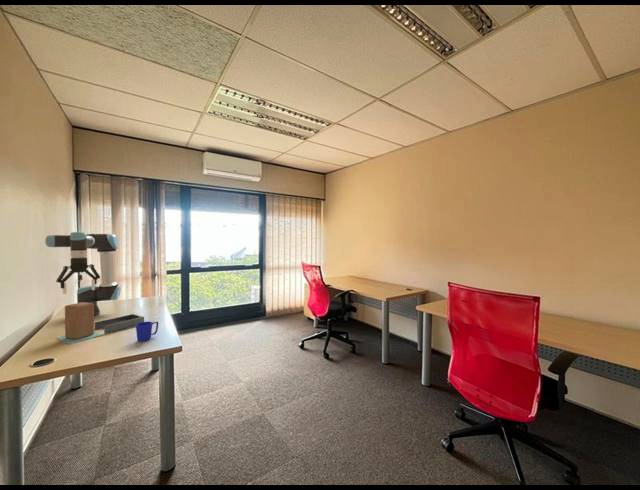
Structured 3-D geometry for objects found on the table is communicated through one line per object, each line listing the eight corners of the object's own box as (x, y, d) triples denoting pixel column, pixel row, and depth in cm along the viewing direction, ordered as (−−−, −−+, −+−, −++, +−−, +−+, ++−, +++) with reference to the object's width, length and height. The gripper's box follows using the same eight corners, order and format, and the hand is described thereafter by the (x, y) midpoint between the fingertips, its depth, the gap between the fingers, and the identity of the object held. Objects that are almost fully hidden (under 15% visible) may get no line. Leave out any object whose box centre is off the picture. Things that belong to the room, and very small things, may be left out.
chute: (94, 329, 173) (94, 322, 173) (133, 320, 193) (133, 313, 193) (105, 334, 166) (105, 326, 166) (144, 323, 186) (144, 316, 186)
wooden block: (76, 340, 155) (76, 306, 154) (64, 338, 157) (63, 305, 157) (94, 334, 165) (94, 302, 164) (82, 332, 167) (82, 301, 166)
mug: (161, 337, 162) (161, 321, 162) (140, 343, 151) (140, 326, 151) (154, 334, 166) (154, 319, 166) (133, 340, 156) (133, 324, 155)
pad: (56, 338, 158) (56, 337, 158) (89, 330, 172) (89, 329, 172) (68, 344, 149) (68, 343, 149) (102, 335, 163) (102, 334, 163)
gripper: (53, 258, 147) (53, 296, 148) (106, 256, 169) (106, 288, 169) (48, 258, 151) (48, 294, 151) (100, 255, 172) (101, 287, 173)
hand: (79, 291), depth 160 cm, fingers open, 13 cm apart
